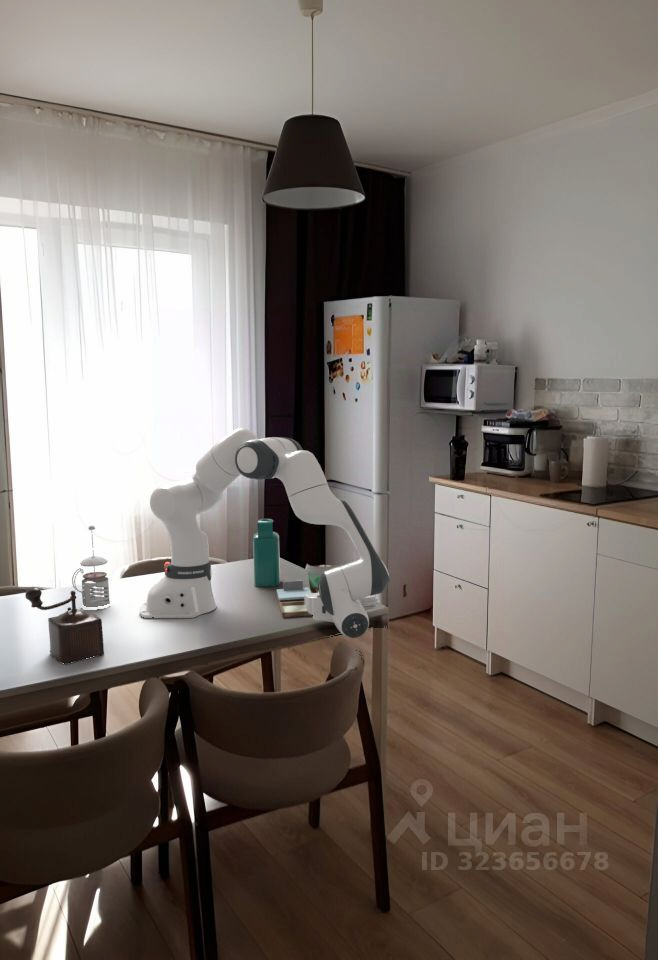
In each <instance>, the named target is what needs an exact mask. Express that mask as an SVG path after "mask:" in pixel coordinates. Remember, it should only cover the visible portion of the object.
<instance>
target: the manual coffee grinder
mask: <svg viewBox="0 0 658 960" xmlns="http://www.w3.org/2000/svg"><path fill="white" fill-rule="evenodd" d="M69 594H70V597H69V598H67V599H66V600H63V601H61V602H58V603H57V602H56V603H55V604H53V605H48V606H43V604H44V603H43V601H42V599H41V596H42V590H41V589H40V588H38V587H31V588H29V589H28V590H26V591H25V596H24V597H25V599H26V600H28V601H29V602H30V604H31V608H33V609H34V608H37V609H39V610H41V611H48V610H52V609H57V608H59V607H62V606H65V605H67V604H69V603H71V607H68V608H67V611H65V612H64V613H61V614H59V615H57V616H52V617H48V619H47V622H48V632H49V633H48V634H49V654H50V655H51V654H52V655H53V656H54V657H55V658H56V659H57V660H58V661H57V662H59V661H60V662H62V663H64V664H65V663H70V664H72V663H71V662H74V661H78V660H82V659H86V658H90V657H93V656H97V655H100V656H103V655H102V654H104V655H105V649H104V648H105V646H104V634H103V633H104V632H103V621H102V619H101V618H100V617H99V616H97V615H96V614H94V613H92V612H91V611H89V610H82V609H77V607H76V599H77V596H76V594H77V593H76V590H71V591H70V593H69ZM52 655H51V656H52ZM53 656H52V657H53ZM54 657H53V658H54ZM97 657H98V656H97ZM55 658H54V659H55ZM93 658H94V657H93ZM56 659H55V660H56ZM90 659H91V658H90ZM86 660H87V659H86ZM82 661H83V660H82ZM60 662H59V663H60ZM78 662H79V661H78ZM62 663H61V664H62ZM74 663H75V662H74ZM64 664H63V665H64ZM65 665H66V664H65Z"/></svg>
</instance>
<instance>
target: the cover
mask: <svg viewBox="0 0 658 960" xmlns="http://www.w3.org/2000/svg"><path fill="white" fill-rule="evenodd" d="M303 582H304V580H303V579H289V580H287V579H286V580H285V579H284V580H283V581H282V585H283V587H282V588H279V589H278V588H277V589H276V592H277V594H278V598H279V600H294V599H304V595H305V594H308V593H311V591H310V586H306V587H304V583H303Z"/></svg>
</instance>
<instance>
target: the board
mask: <svg viewBox="0 0 658 960" xmlns="http://www.w3.org/2000/svg"><path fill="white" fill-rule="evenodd" d="M275 596H276V599H277V604H278V607H279V610H280V613H281V617H282V618H284V619H285V618H296V617H297V618H298V617H313V616H312V615H311V614H310V613H308V611H307V610H306V608H305V604H304V599H294V600H279V598H278V594H277V591H276V595H275Z"/></svg>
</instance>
